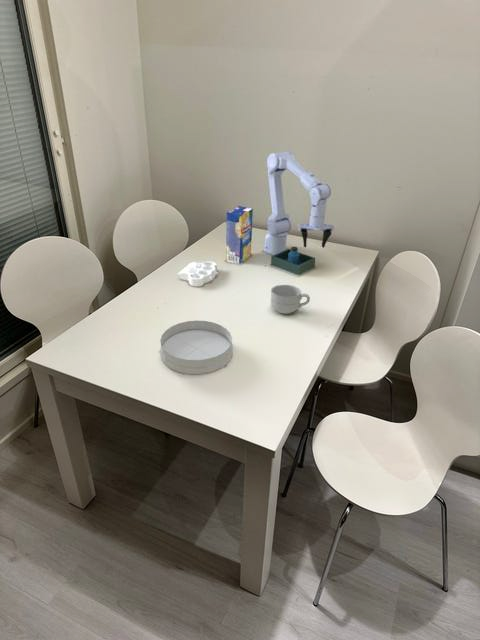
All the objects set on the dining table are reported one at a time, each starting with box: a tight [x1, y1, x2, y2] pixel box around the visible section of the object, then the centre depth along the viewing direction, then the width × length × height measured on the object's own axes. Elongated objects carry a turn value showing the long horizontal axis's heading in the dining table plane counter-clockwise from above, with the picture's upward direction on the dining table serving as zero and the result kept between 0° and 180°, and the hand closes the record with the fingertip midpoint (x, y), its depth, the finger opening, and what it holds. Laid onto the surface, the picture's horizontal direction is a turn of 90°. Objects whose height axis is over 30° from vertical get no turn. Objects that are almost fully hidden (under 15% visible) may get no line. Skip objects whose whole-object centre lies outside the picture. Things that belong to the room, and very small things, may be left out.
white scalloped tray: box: [176, 260, 219, 288], centre depth 186 cm, size 3×18×15 cm
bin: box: [270, 248, 317, 276], centre depth 197 cm, size 15×12×5 cm
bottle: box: [288, 246, 300, 265], centre depth 195 cm, size 5×5×8 cm
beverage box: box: [225, 205, 254, 264], centre depth 198 cm, size 7×11×22 cm, turn 153°
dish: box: [159, 320, 233, 375], centre depth 140 cm, size 22×22×5 cm
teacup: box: [270, 284, 311, 315], centre depth 163 cm, size 14×11×8 cm
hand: (313, 246), depth 191 cm, fingers open, 7 cm apart
